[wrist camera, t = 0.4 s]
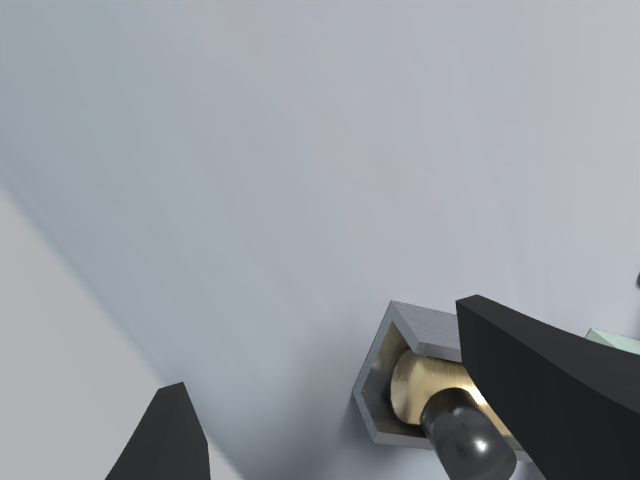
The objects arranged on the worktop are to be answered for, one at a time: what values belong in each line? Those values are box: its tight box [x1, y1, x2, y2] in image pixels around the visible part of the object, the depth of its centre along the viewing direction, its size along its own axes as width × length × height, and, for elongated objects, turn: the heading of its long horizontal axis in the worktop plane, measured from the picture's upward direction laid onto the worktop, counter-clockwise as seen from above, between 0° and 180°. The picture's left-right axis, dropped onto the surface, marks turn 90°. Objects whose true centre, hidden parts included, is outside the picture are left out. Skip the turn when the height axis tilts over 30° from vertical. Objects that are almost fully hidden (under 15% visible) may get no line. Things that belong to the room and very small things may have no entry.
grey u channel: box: [352, 301, 533, 462], centre depth 24 cm, size 9×5×4 cm, turn 71°
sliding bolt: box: [391, 350, 517, 480], centre depth 23 cm, size 9×3×6 cm, turn 71°
